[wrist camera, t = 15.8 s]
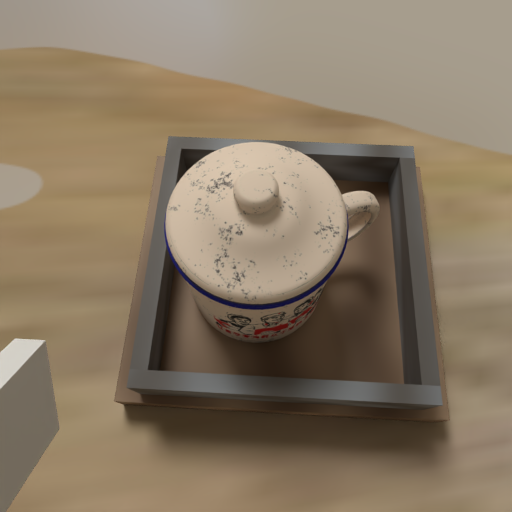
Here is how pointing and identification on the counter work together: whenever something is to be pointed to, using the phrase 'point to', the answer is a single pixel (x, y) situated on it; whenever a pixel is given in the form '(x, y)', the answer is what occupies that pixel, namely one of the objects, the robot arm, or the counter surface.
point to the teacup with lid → (260, 236)
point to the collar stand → (319, 323)
